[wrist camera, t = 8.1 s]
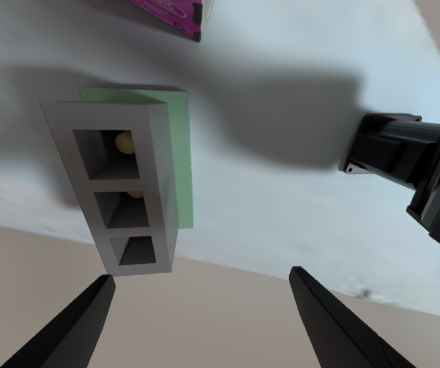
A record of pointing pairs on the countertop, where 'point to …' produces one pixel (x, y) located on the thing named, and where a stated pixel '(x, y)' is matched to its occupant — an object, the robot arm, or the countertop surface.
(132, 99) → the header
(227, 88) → the countertop surface
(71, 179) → the grey cinder block
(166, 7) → the candy bar box
